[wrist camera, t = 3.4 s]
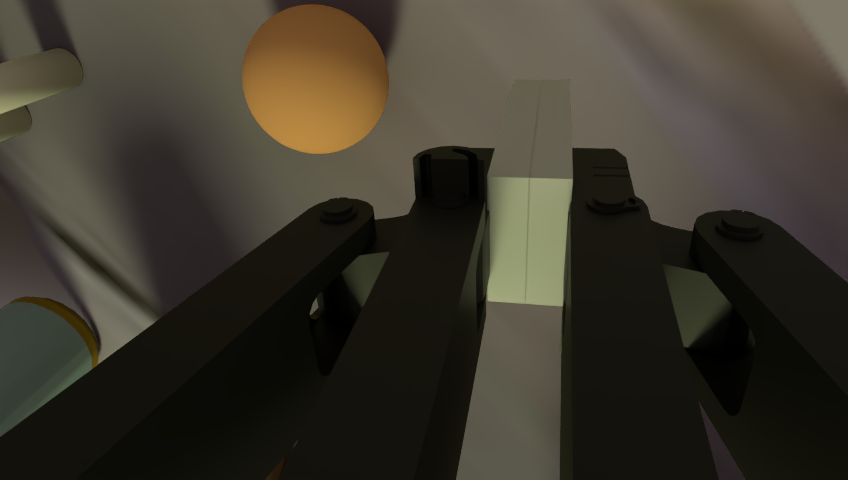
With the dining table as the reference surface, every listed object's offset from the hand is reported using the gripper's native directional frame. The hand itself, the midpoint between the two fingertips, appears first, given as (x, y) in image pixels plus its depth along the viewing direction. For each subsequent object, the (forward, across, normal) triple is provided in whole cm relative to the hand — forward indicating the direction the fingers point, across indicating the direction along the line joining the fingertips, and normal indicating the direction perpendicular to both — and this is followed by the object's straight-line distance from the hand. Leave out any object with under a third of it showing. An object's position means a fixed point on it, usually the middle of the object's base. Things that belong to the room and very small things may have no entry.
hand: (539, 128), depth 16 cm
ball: (+7, +9, 0) cm, 12 cm away
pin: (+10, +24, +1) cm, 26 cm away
